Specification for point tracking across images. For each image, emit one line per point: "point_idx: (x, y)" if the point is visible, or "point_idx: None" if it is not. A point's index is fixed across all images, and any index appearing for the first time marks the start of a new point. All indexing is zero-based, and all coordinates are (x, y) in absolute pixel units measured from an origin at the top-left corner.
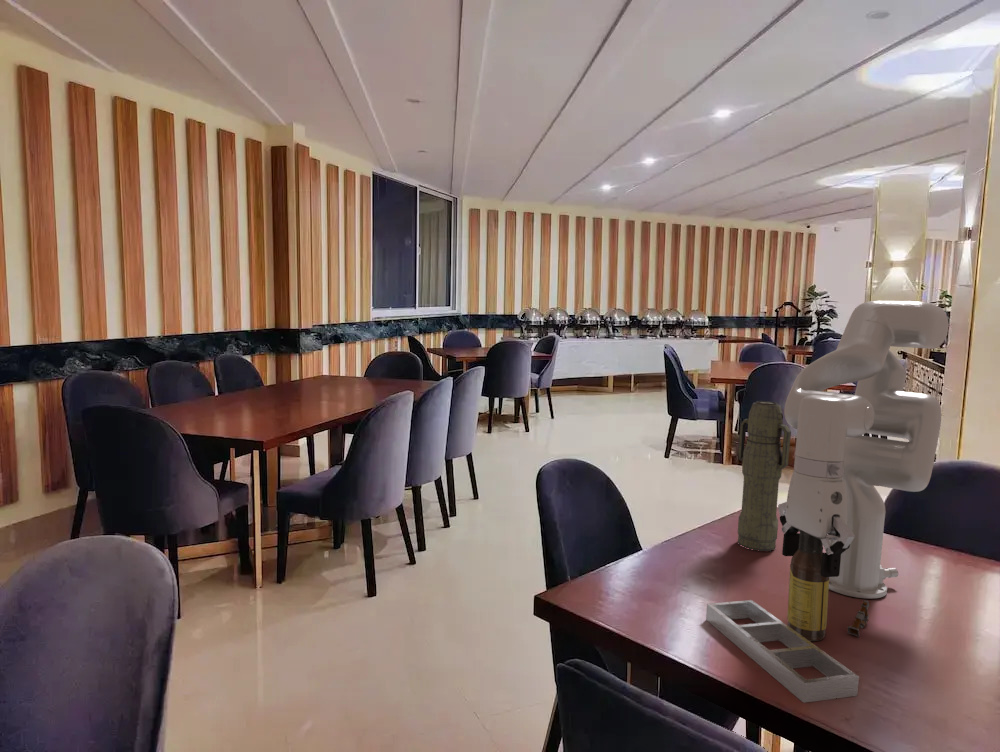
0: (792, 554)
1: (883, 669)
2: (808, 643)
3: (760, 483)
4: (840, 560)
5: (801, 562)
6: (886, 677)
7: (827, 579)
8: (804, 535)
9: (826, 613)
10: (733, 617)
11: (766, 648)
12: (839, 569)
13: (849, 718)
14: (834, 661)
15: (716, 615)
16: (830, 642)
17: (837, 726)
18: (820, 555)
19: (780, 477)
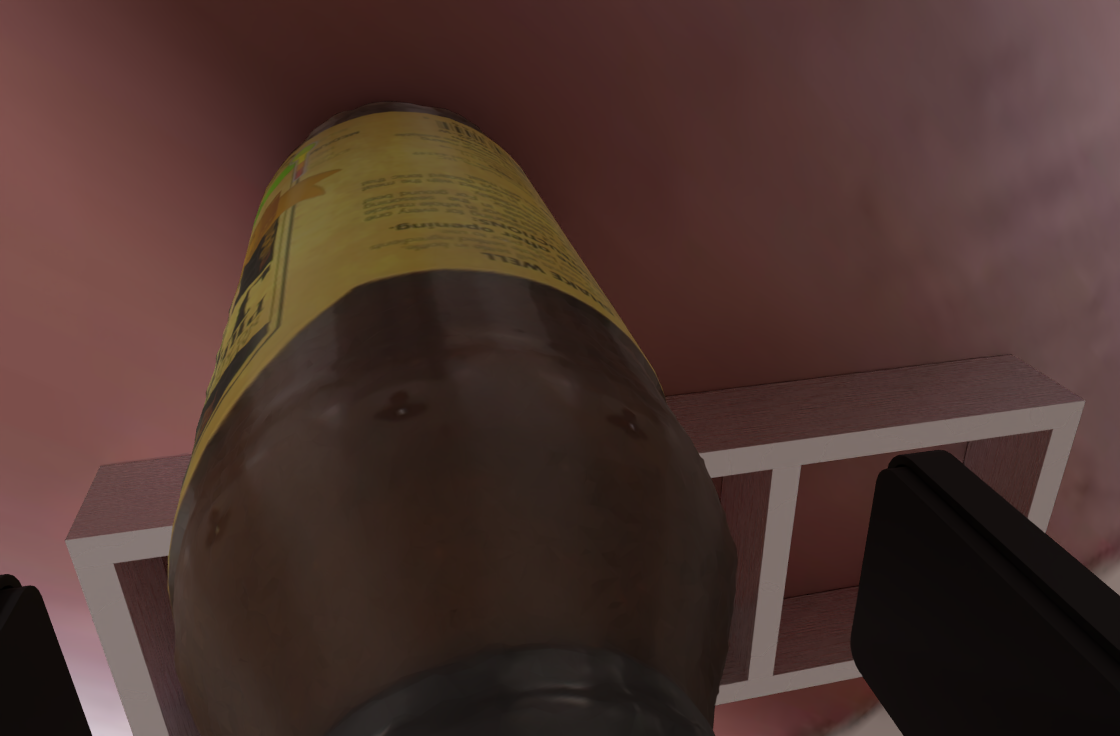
0: (63, 700)
1: (904, 10)
2: (747, 468)
3: None
4: (1111, 591)
5: None
6: (968, 67)
7: (644, 369)
8: None
9: (546, 207)
10: (167, 596)
11: (729, 685)
12: (998, 498)
13: (1089, 476)
14: (943, 437)
15: None
16: (539, 124)
17: (1095, 541)
18: (709, 704)
19: None
